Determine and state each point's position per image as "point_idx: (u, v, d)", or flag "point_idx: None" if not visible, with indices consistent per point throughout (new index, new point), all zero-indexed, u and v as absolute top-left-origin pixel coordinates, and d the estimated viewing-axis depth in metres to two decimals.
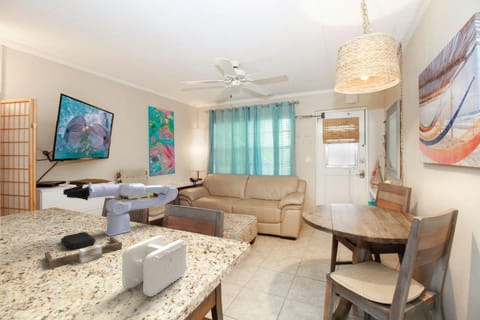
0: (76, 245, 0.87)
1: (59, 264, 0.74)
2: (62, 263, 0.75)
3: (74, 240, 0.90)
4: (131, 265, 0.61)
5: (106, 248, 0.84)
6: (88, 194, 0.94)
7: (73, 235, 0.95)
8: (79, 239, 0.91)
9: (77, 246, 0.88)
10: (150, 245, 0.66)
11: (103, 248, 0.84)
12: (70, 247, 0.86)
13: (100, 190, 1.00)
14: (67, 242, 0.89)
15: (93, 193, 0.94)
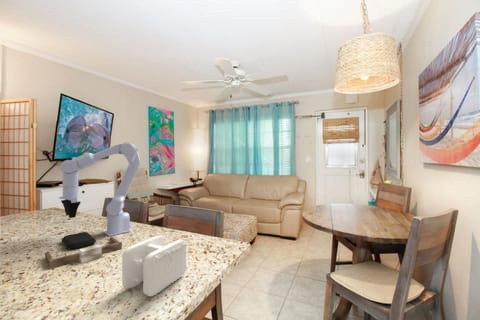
0: (76, 245, 0.88)
1: (59, 264, 0.74)
2: (62, 263, 0.75)
3: (75, 240, 0.90)
4: (131, 265, 0.61)
5: (106, 248, 0.84)
6: None
7: (74, 235, 0.96)
8: (79, 239, 0.91)
9: (77, 246, 0.88)
10: (150, 245, 0.66)
11: (103, 248, 0.84)
12: (71, 247, 0.87)
13: (70, 190, 0.99)
14: (68, 242, 0.89)
15: (73, 199, 0.96)
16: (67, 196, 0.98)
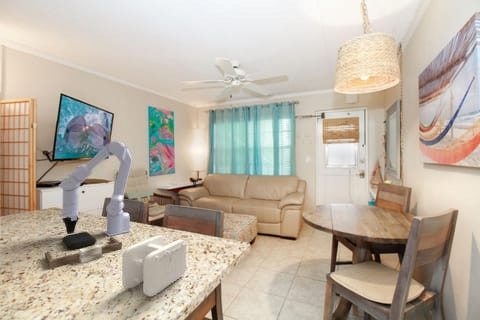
0: (77, 244, 0.88)
1: (59, 264, 0.74)
2: (62, 263, 0.75)
3: (75, 240, 0.90)
4: (131, 265, 0.61)
5: (106, 248, 0.84)
6: None
7: (74, 235, 0.96)
8: (79, 239, 0.91)
9: (78, 246, 0.88)
10: (150, 245, 0.66)
11: (103, 248, 0.84)
12: (71, 247, 0.87)
13: (70, 208, 0.99)
14: (68, 242, 0.89)
15: (73, 217, 0.96)
16: (67, 213, 0.98)
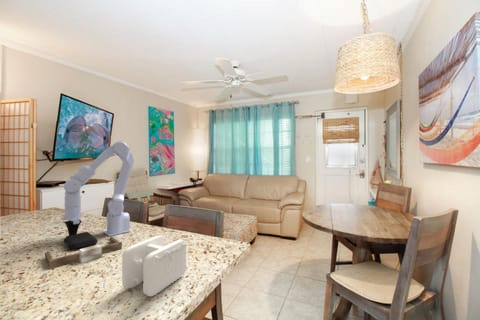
0: (78, 245, 0.87)
1: (59, 264, 0.74)
2: (62, 263, 0.75)
3: (76, 240, 0.89)
4: (131, 265, 0.61)
5: (106, 248, 0.84)
6: None
7: (75, 235, 0.95)
8: (81, 239, 0.90)
9: (79, 246, 0.87)
10: (150, 245, 0.66)
11: (103, 248, 0.84)
12: (72, 247, 0.86)
13: (72, 211, 0.96)
14: (69, 242, 0.89)
15: (76, 221, 0.93)
16: (69, 217, 0.95)
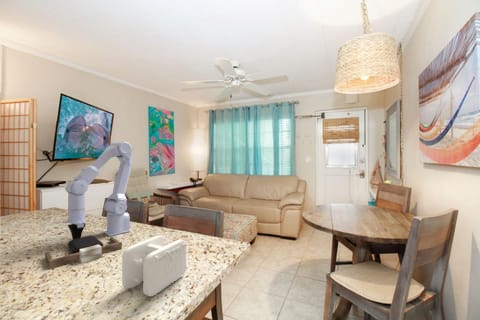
0: None
1: (59, 264, 0.74)
2: (62, 263, 0.75)
3: (81, 245, 0.85)
4: (131, 265, 0.61)
5: (106, 248, 0.84)
6: None
7: (80, 239, 0.91)
8: (86, 244, 0.86)
9: None
10: (150, 245, 0.66)
11: (103, 248, 0.84)
12: (77, 252, 0.82)
13: (76, 213, 0.91)
14: (74, 247, 0.84)
15: (80, 224, 0.88)
16: (73, 220, 0.91)
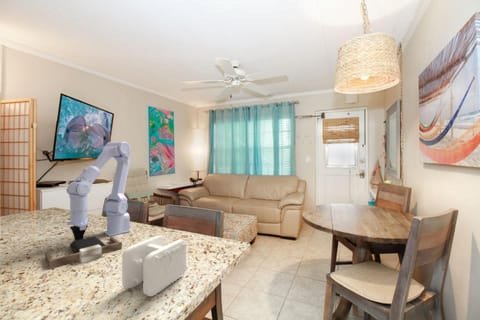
0: None
1: (59, 264, 0.74)
2: (62, 263, 0.75)
3: (84, 246, 0.84)
4: (131, 265, 0.61)
5: (106, 248, 0.84)
6: None
7: (82, 240, 0.89)
8: (88, 245, 0.84)
9: None
10: (150, 245, 0.66)
11: (103, 248, 0.84)
12: None
13: (78, 215, 0.89)
14: (76, 248, 0.83)
15: (82, 226, 0.86)
16: (75, 222, 0.88)
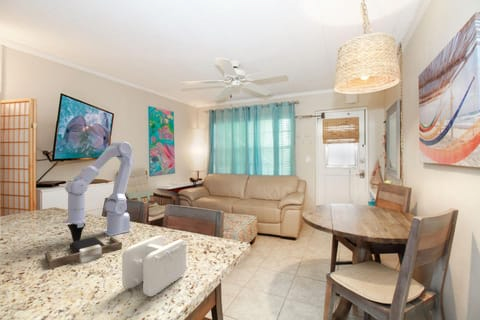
0: None
1: (59, 264, 0.74)
2: (62, 263, 0.75)
3: (83, 246, 0.84)
4: (131, 265, 0.61)
5: (106, 248, 0.84)
6: None
7: (82, 241, 0.89)
8: (88, 246, 0.84)
9: None
10: (150, 245, 0.66)
11: (103, 248, 0.84)
12: None
13: (76, 213, 0.91)
14: (76, 249, 0.83)
15: (80, 224, 0.89)
16: (73, 220, 0.91)
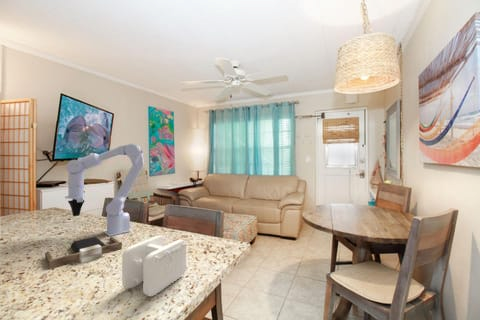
0: None
1: (59, 264, 0.74)
2: (62, 263, 0.75)
3: (84, 246, 0.84)
4: (131, 265, 0.61)
5: (106, 248, 0.84)
6: None
7: (83, 240, 0.90)
8: (89, 245, 0.85)
9: None
10: (150, 245, 0.66)
11: (103, 248, 0.84)
12: None
13: (76, 190, 1.00)
14: (77, 248, 0.83)
15: (79, 199, 0.97)
16: (73, 196, 0.99)
